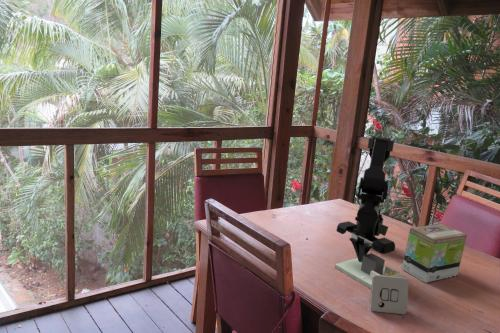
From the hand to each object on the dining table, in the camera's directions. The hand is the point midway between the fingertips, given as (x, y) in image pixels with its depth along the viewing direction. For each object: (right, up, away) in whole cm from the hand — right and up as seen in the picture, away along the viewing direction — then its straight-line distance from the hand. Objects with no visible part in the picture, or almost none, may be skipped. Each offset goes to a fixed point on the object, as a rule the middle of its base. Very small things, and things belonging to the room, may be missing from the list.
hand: (360, 261), depth 127 cm
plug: (+2, -3, -3) cm, 5 cm away
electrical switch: (+1, -8, -20) cm, 21 cm away
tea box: (+23, -4, +3) cm, 24 cm away
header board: (+2, -4, -2) cm, 5 cm away
